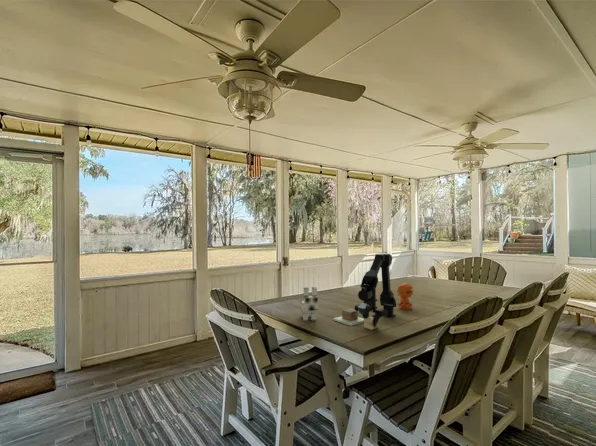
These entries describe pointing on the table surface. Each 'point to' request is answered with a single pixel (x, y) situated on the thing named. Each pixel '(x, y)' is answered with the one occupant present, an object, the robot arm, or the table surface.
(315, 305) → the toy rabbit
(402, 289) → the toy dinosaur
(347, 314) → the walnut block
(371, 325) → the maple block
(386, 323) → the table surface
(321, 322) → the table surface
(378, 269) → the robot arm
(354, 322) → the plate
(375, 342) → the table surface
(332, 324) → the table surface
